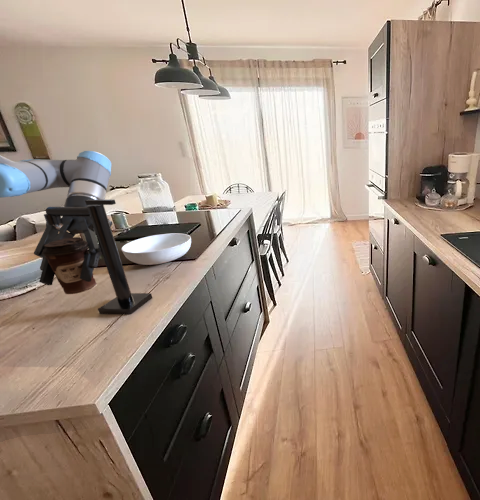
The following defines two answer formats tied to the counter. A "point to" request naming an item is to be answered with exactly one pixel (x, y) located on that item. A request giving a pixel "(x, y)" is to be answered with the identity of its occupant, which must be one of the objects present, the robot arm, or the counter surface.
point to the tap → (104, 254)
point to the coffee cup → (69, 263)
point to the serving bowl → (157, 248)
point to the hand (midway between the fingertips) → (65, 281)
